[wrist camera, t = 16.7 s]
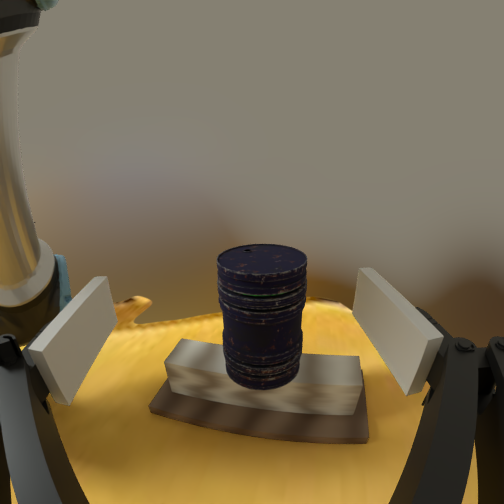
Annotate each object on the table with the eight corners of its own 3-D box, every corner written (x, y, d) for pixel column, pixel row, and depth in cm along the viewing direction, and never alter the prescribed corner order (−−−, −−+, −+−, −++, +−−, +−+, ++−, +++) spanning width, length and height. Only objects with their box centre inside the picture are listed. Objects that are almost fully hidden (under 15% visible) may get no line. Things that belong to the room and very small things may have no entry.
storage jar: (316, 369, 34) (327, 259, 29) (252, 403, 29) (248, 283, 24) (270, 335, 42) (270, 239, 37) (211, 358, 37) (200, 253, 32)
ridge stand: (150, 412, 35) (137, 376, 32) (186, 358, 48) (180, 323, 45) (366, 443, 28) (381, 408, 26) (360, 376, 41) (369, 340, 39)
